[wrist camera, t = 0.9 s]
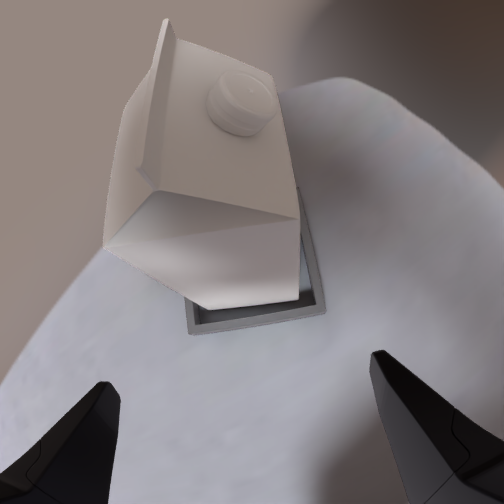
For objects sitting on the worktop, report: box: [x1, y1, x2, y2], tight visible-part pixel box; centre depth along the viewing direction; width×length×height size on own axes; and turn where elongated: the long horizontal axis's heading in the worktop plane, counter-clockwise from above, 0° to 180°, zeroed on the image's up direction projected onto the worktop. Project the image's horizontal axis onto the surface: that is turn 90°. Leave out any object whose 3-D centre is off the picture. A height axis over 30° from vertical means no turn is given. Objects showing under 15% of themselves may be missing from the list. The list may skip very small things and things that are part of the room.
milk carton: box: [103, 18, 300, 310], centre depth 17 cm, size 7×7×19 cm
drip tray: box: [184, 187, 326, 335], centre depth 25 cm, size 10×10×2 cm
